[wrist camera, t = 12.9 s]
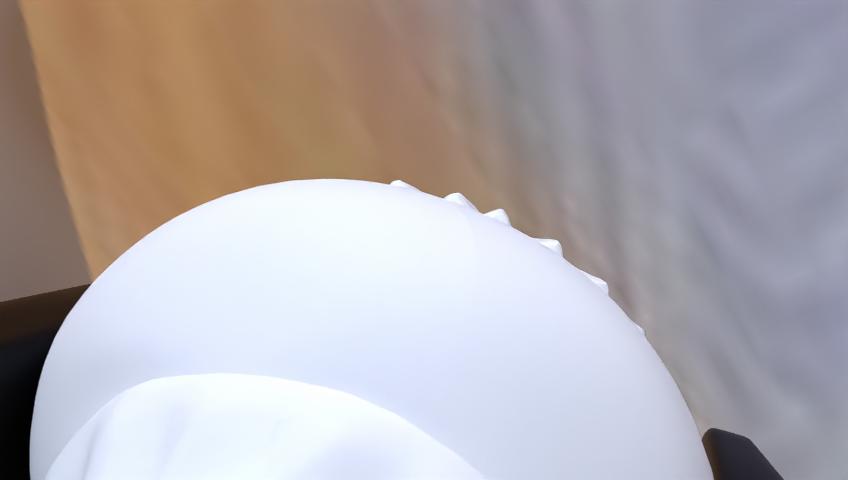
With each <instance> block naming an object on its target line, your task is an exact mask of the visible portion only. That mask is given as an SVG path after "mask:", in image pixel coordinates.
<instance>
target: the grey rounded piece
mask: <svg viewBox="0 0 848 480" xmlns="http://www.w3.org/2000/svg"><path fill="white" fill-rule="evenodd" d="M30 480H714V478H713V473H712V469H711V467H710V464H709V461H708V458H707V455H706V452H705V449H704V446H703V443H702V440H701V438H700V435H699V432H698V430H697V427H696V424H695V421H694V419H693V417H692V415H691V413H690V411H689V409H688V406H687V404H686V402H685V400H684V398H683V396H682V395H681V393H680V391H679V389H678V387H677V385H676V383H675V381H674V379H673V378H672V376H671V375H670V373H669V371H668V370H667V368H666V367H665V365H664V364H663V362H662V360H661V359H660V357H659V356H658V354H657V353H656V351H655V350H654V349H653V347H652V346H651V345H650V343H649V342H648V341H647V339H646V334H645V331H644V330H643V329H642V328H640V327H639V326H638V325H637V324H635V323H634V322H633V321H631V320H630V318H629V317H628V316H627V315H626V314H625V313H624V312H623V311H622V309H621V308H620V307H619V306H618V305H617V304H616V303H615V302H614V301H613V300H612V299H611V298H610V297H609V296H608V285H607V283H606V282H605V281H603V280H601V279H600V278H597V277H594V276H592V275H590V274H588V273H586V272H584V271H581V270H579V269H577V268H576V267H574V266H573V265H572V264H570V263H569V262H568V261H566V260H565V259H564V258H563V254H562V247H561V245H560V243H559V242H558V241H557V240H552V239H536V238H531V237H529V236H527V235H525V234H524V233H522V232H520V231H518V230H516V229H514V228H512V226H511V223H510V221H509V218H508V215H507V214H506V213H505V211H504V210H503V209H497V210H494V211H491V212H489V213H486V214H482V213H480V212H479V211H478V210H477V209H476V208H475V207H474V205H473V204H472V203H471V202H469V201H468V200H467V199H466V198H465V197H464V196H463V195H462V194H460V193H452V194H450V195H448V196H447V197H445V198H444V199H443V198H440V197H437V196H433V195H430V194H427V193H423V192H421V191H419V190H418V189H416V188H415V187H413V186H411V185H409V184H407V183H404V182H402V181H400V180H398V181H394V182H392V183H391V184H390V185H387V184H382V183H376V182H368V181H361V180H345V179H313V180H297V181H287V182H281V183H275V184H269V185H263V186H258V187H254V188H250V189H247V190H243V191H240V192H236V193H232V194H229V195H225V196H223V197H220V198H218V199H215V200H212V201H210V202H207V203H205V204H202V205H200V206H198V207H195V208H193V209H191V210H189V211H187V212H185V213H183V214H181V215H179V216H177V217H175V218H174V219H172V220H170V221H168V222H167V223H165V224H163V225H162V226H160V227H158V228H157V229H155V230H154V231H152V232H151V233H149V234H148V235H147V236H145V237H144V238H143V239H141V240H140V241H139V242H137V243H136V244H135V245H133V246H132V247H131V248H130V249H128V250H127V251H126V252H125V253H123V254H122V255H121V256H120V257H119V258H118V259H117V260H116V261H115V262H113V263H112V264H111V265H110V266H109V267H108V268H107V269H106V270H105V271H104V272H103V273H102V274H101V275H100V276H99V277H98V278H97V279H96V280H95V281H94V282H93V283H92V285H91V286H90V287H89V288H88V289H87V290H86V291H85V293H84V294H83V295H82V297H81V298H80V299H79V301H78V302H77V303H76V304H75V306H74V307H73V309H72V310H71V311H70V313H69V314H68V315H67V317H66V319H65V320H64V322H63V324H62V326H61V327H60V329H59V331H58V333H57V334H56V336H55V338H54V341H53V343H52V345H51V348H50V350H49V353H48V355H47V358H46V360H45V363H44V366H43V369H42V373H41V376H40V380H39V384H38V389H37V393H36V397H35V404H34V411H33V418H32V425H31V433H30Z"/></svg>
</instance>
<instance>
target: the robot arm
mask: <svg viewBox="0 0 848 480" xmlns="http://www.w3.org/2000/svg"><path fill="white" fill-rule="evenodd" d="M91 285H92V284H88V285H82V286H78V287H72V288H68V289H63V290H58V291H53V292H48V293H43V294H38V295H33V296H28V297H23V298H18V299H13V300H8V301H4V302H0V480H30V433H31V425H32V418H33V411H34V404H35V397H36V393H37V389H38V384H39V380H40V376H41V373H42V369H43V366H44V363H45V360H46V358H47V355H48V353H49V350H50V348H51V345H52V343H53V341H54V338H55V336H56V334H57V333H58V331H59V329H60V327H61V326H62V324H63V322H64V320H65V319H66V317H67V315H68V314H69V313H70V311H71V310H72V309H73V307H74V306H75V304H76V303H77V302H78V301H79V299H80V298H81V297H82V295H83V294H84V293H85V291H86V290H87V289H88V288H89V287H90V286H91ZM702 443H703V446H704V449H705V452H706V455H707V458H708V461H709V464H710V467H711V469H712V473H713V478H714V480H784V479H783V478H782V477H781V476H780V475H779V473H778V472H777V471H776V470H775V469H774V467H773V466H772V465H771V464H770V463H769V461H768V460H767V459H766V458H765V457H764V455H763V454H762V453H761V452H760V451H759V449H758V448H757V447H756V446H755V445H754V444H753V442H752V441H751V440H750V439H748V438H746V437H744V436H741V435H737V434H734V433H730V432H727V431H723V430H720V429H716V428H711V429H709V430H708V431H707V432H705V434H704V436H703V438H702Z"/></svg>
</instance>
